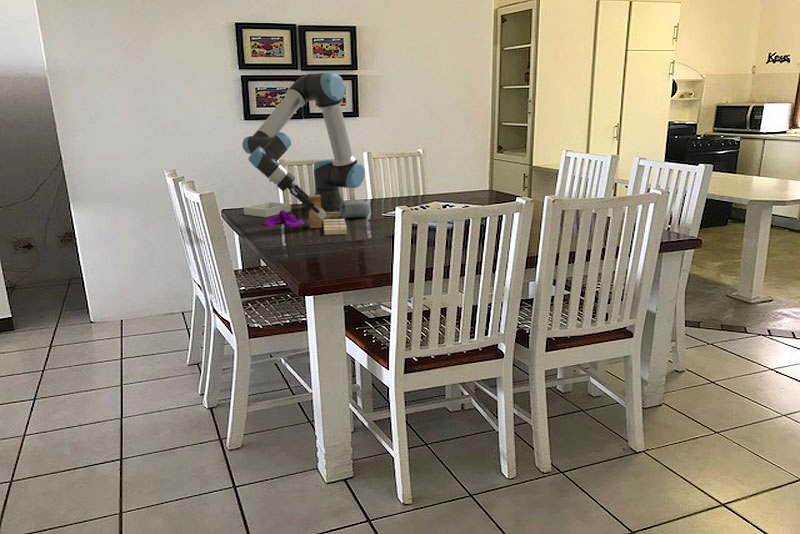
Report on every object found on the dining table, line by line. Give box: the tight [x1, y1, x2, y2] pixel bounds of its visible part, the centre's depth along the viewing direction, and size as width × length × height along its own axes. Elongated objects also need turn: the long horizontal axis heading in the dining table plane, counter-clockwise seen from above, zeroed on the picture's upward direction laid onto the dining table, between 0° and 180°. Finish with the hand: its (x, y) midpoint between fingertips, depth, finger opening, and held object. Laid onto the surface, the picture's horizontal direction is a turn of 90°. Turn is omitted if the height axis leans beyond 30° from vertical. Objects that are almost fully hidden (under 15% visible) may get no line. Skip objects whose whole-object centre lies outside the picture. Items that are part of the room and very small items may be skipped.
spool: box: [339, 199, 371, 220], centre depth 282 cm, size 14×10×10 cm
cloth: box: [263, 210, 305, 228], centre depth 276 cm, size 22×19×6 cm
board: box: [322, 218, 348, 236], centre depth 260 cm, size 22×9×2 cm, turn 8°
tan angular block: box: [307, 194, 342, 229], centre depth 264 cm, size 5×13×13 cm, turn 97°
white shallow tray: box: [243, 201, 292, 218], centre depth 298 cm, size 17×14×4 cm
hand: (324, 216), depth 265 cm, fingers closed on tan angular block, 5 cm apart
